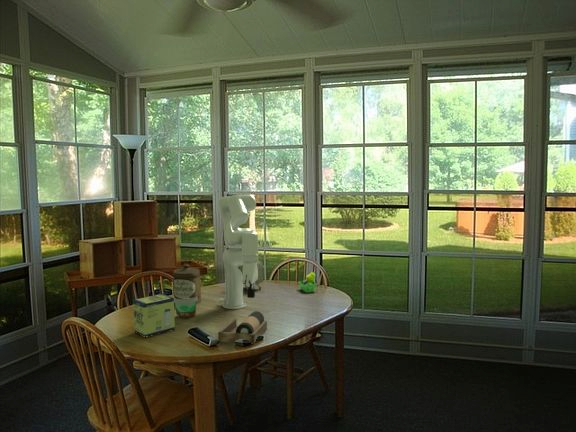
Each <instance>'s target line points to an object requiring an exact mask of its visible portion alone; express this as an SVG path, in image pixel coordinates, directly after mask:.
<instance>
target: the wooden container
mask: <svg viewBox="0 0 576 432" xmlns="http://www.w3.org/2000/svg"><path fill="white" fill-rule="evenodd" d="M172 274H173V298H176V299H181V298H195V297H196V296H197V297H198V301H197V302H196V305H197V304H200V303H201V302H202V292H201V291H202V288H201V272H200V269H198V268H194V267H190V264H189V263H184V264H183V265H182V268H180V269H175V270H173V272H172Z"/></svg>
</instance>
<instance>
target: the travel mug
mask: <svg viewBox="0 0 576 432" xmlns="http://www.w3.org/2000/svg"><path fill="white" fill-rule="evenodd" d="M263 321H265V317H264V314H263V313H262V312H260V311H257V310H256V311H253V312H251V313H250V314H249V315H248V316H246V317H245V319H243V321H241V322H240V324H239V325H238V327H237V329H236V333H245V334H252V333H253V332H254V331H255V330H256V329H257V328H258V327H259V326H260V325H261V324H262V323H263Z"/></svg>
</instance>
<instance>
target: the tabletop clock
mask: <svg viewBox="0 0 576 432" xmlns="http://www.w3.org/2000/svg"><path fill="white" fill-rule="evenodd" d="M257 268H258V279H257V281H255V286H257V287H258V290H261V289H262V287H261V286H260V285H259V284H261V283H264V278H265V277H264V276H265V270H264V269H265V268H264V264H263V262H262V261H260V260H258V262H257ZM238 269H239V270H240V271H241V272H242V270H243V266H238ZM244 287H245V288H247V287H246V283H245V284H244Z"/></svg>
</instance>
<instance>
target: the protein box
mask: <svg viewBox="0 0 576 432" xmlns="http://www.w3.org/2000/svg"><path fill="white" fill-rule="evenodd" d="M132 306H133V307H132V308H133V310H132V311H133V328H134V331H135V332H137V333H139V334H141V335H143V336H145V337H146V336H151V335H155V334H158V333H162V334H164V333H163V332H166V333H168V332H167V331H169V332H171V331H170V330H173V331H176V327H175V326H176V322H175V321H176V320H175V303H174V297H173V296H172V297H171V296H169V295H167V294H163V293H160V294H156V295H151V296H150V295H149V296H146V297H141V298H136V299H132ZM158 335H159V334H158ZM155 336H156V335H155ZM151 337H152V336H151Z"/></svg>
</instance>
